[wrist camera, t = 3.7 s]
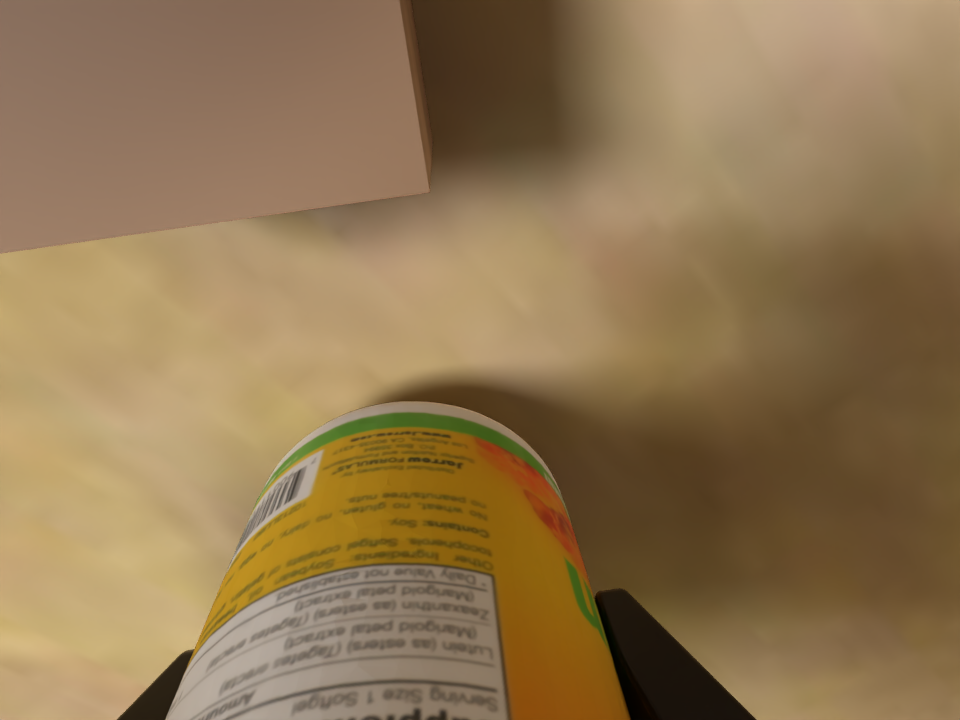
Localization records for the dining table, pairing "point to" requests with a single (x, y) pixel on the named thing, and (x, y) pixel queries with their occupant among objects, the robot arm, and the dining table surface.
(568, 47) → the dining table surface
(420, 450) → the supplement bottle
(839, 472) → the dining table surface
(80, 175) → the pinkish brown block
